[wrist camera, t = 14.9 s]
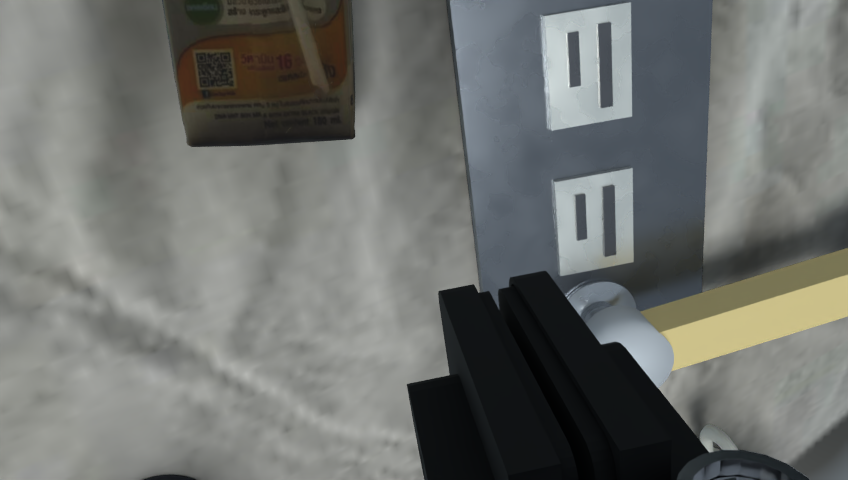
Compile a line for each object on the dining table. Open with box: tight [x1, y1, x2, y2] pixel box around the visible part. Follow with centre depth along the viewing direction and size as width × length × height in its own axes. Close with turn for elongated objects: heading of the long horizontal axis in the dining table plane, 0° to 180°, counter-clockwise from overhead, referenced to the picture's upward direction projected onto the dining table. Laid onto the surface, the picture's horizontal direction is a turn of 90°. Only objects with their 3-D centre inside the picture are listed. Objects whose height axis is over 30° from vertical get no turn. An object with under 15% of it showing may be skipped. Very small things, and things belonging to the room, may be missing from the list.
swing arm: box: [586, 248, 848, 388], centre depth 38 cm, size 20×4×3 cm, turn 105°
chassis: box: [446, 0, 712, 323], centre depth 37 cm, size 24×14×4 cm, turn 8°
